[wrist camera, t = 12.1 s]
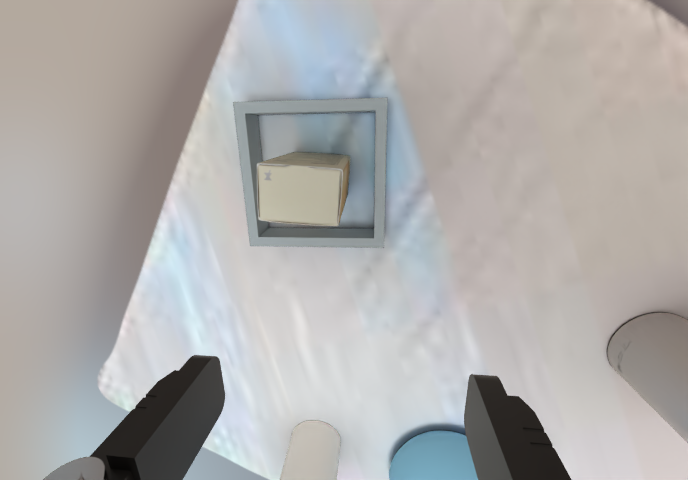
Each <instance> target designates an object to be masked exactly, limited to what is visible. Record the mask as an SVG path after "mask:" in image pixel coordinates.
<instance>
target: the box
mask: <svg viewBox="0 0 688 480" xmlns="http://www.w3.org/2000/svg"><path fill="white" fill-rule="evenodd" d="M233 106H234V115H235V123H236V132H237V140H238V148H239V157H240V165H241V174H242V182H243V190H244V199H245V207H246V216H247V224H248V233H249V241H250V246H280V247H354V248H384V224H385V180H386V137H387V98H360V99H324V100H288V101H252V102H233ZM367 112H376V122H375V202H374V228H269V225H268V222H267V221H261V220H259V218H258V206H257V163H260V162H262V153H261V143H260V133H259V123H258V115H283V114H325V113H367Z"/></svg>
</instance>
